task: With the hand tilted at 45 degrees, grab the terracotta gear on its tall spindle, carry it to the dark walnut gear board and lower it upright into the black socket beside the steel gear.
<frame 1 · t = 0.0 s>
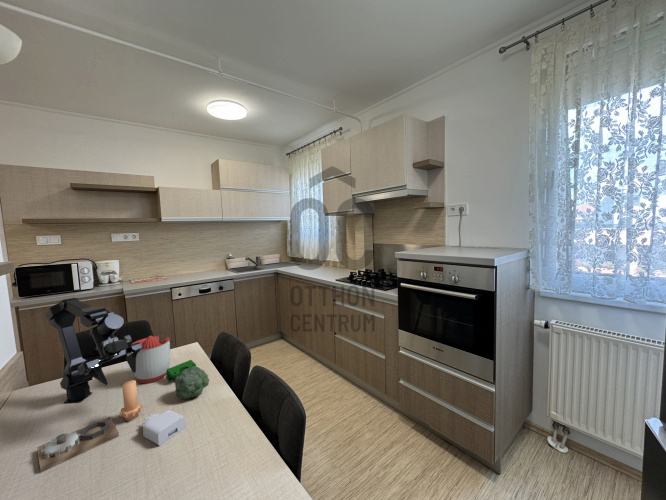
hand: (121, 378, 101), 15 cm above the table, tool tilted 35°, fingers open, 9 cm apart
vegetable: (192, 393, 116), on the table
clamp: (182, 378, 129), on the table
charger: (160, 430, 95), on the table
gear spindle: (131, 417, 102), on the table
citrus juicer: (154, 376, 131), on the table
gear board: (79, 443, 90), on the table
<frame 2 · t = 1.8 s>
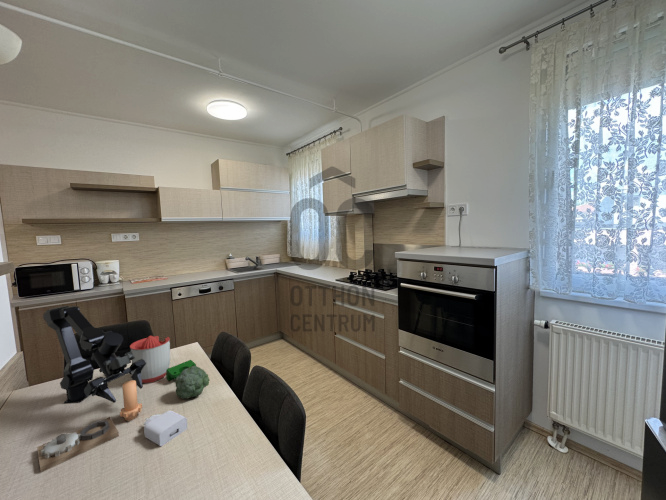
hand: (129, 394, 102), 8 cm above the table, tool tilted 45°, fingers open, 9 cm apart
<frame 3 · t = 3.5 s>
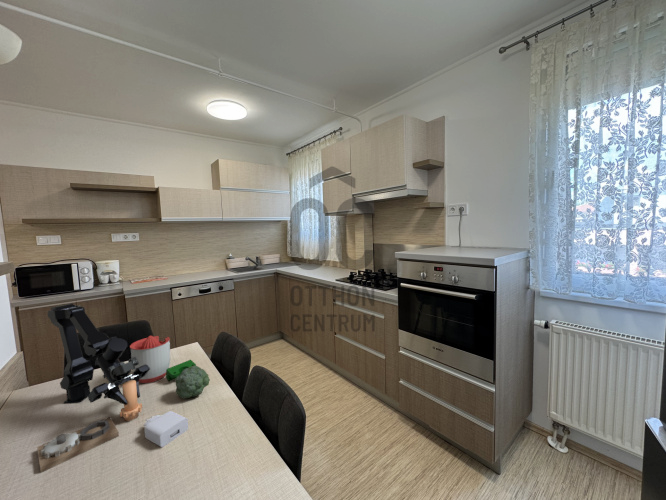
hand: (133, 400, 101), 7 cm above the table, tool tilted 45°, fingers closed on gear spindle, 4 cm apart
gear spindle: (131, 417, 102), on the table, touching gripper
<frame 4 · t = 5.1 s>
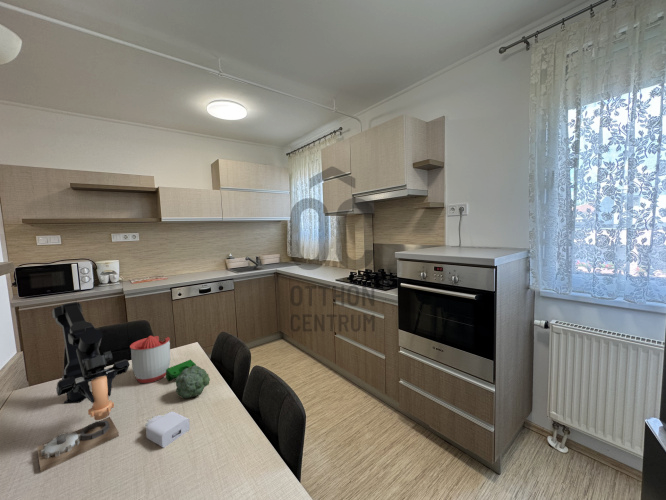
hand: (101, 398, 93), 12 cm above the table, tool tilted 45°, fingers closed on gear spindle, 4 cm apart
gear spindle: (102, 416, 94), point 6 cm above the table, touching gripper
when the fingers open (9 cm above the table, at t = 6.7 s): gear spindle stays where it is, resting on gear board.
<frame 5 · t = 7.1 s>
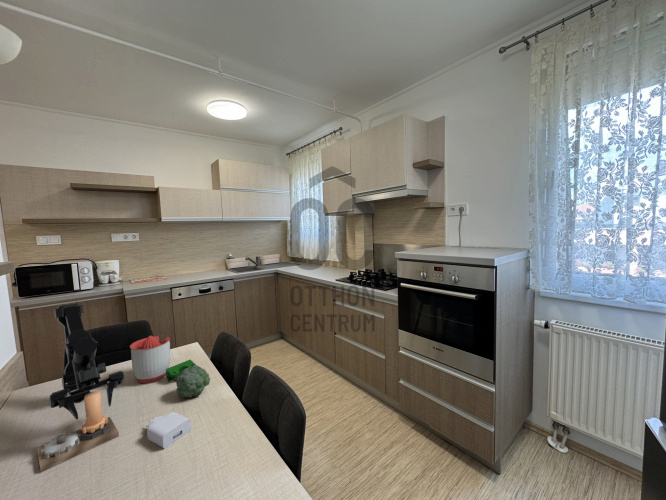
hand: (94, 412, 91), 9 cm above the table, tool tilted 45°, fingers open, 8 cm apart
gear spindle: (95, 431, 93), point 2 cm above the table, touching gear board
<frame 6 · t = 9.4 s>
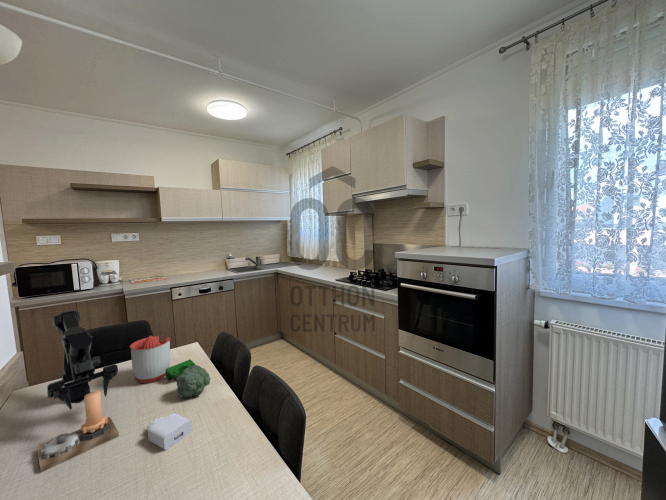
hand: (89, 402, 97), 9 cm above the table, tool tilted 45°, fingers open, 9 cm apart
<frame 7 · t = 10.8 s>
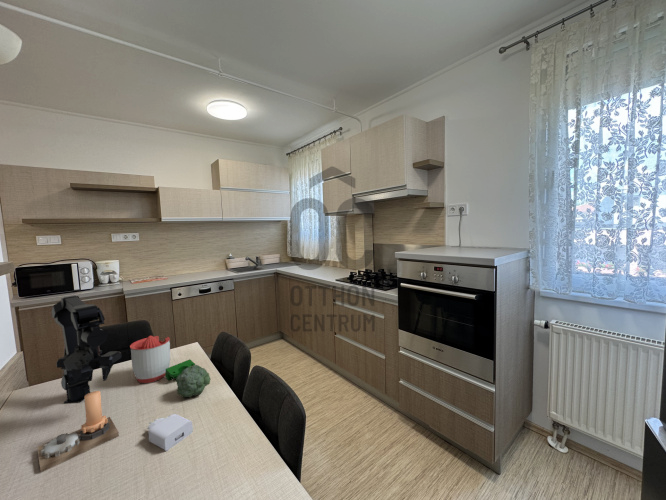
hand: (91, 381, 103), 13 cm above the table, tool pointing down, fingers open, 9 cm apart
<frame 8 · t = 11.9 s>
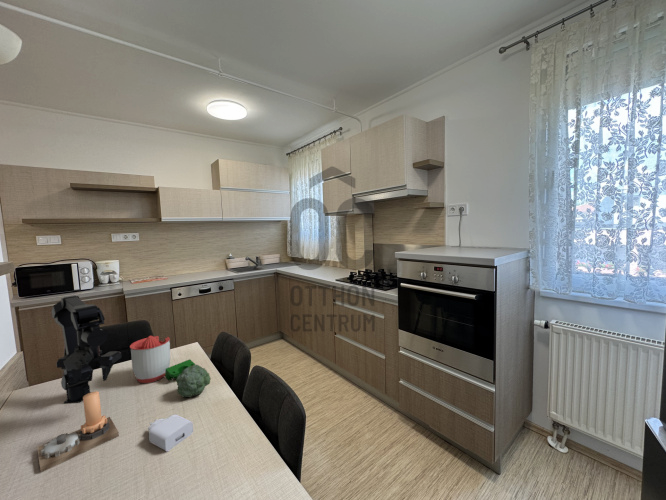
hand: (91, 381, 103), 13 cm above the table, tool pointing down, fingers open, 9 cm apart
at the end: gear spindle 0.0 cm from the target spot, point 1.5 cm above the table; gear spindle tilted 1°; the gripper is holding nothing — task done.
